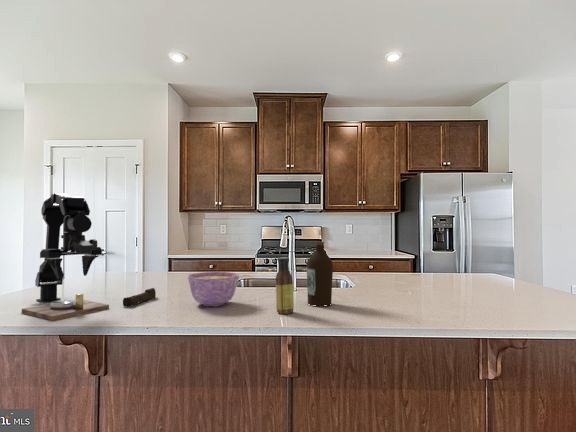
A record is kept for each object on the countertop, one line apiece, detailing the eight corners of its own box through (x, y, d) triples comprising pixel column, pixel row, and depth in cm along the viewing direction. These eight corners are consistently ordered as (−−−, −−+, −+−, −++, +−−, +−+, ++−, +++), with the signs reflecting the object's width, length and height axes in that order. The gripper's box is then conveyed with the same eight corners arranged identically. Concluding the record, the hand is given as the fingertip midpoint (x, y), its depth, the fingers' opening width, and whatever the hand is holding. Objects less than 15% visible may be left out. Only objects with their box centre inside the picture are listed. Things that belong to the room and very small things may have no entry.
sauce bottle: (295, 311, 134) (296, 257, 134) (290, 315, 128) (290, 258, 128) (279, 310, 136) (279, 256, 136) (272, 313, 130) (273, 258, 130)
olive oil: (324, 300, 153) (325, 241, 153) (337, 306, 143) (338, 242, 144) (301, 302, 149) (302, 241, 149) (313, 308, 139) (314, 242, 139)
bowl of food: (249, 304, 145) (249, 275, 145) (206, 313, 131) (207, 280, 131) (218, 297, 159) (219, 270, 159) (177, 304, 144) (177, 275, 144)
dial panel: (21, 312, 129) (21, 308, 129) (77, 302, 146) (78, 298, 146) (52, 320, 119) (52, 315, 119) (109, 308, 136) (109, 304, 136)
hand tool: (131, 308, 138) (131, 295, 139) (122, 307, 140) (122, 295, 140) (160, 298, 157) (161, 287, 157) (152, 297, 158) (153, 287, 158)
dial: (44, 307, 131) (44, 293, 131) (72, 301, 139) (72, 288, 139) (66, 312, 124) (67, 297, 124) (95, 306, 132) (95, 292, 132)
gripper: (58, 232, 115) (58, 282, 115) (112, 232, 132) (111, 275, 131) (39, 232, 121) (38, 280, 120) (92, 231, 137) (92, 273, 137)
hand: (72, 277), depth 127 cm, fingers open, 9 cm apart
